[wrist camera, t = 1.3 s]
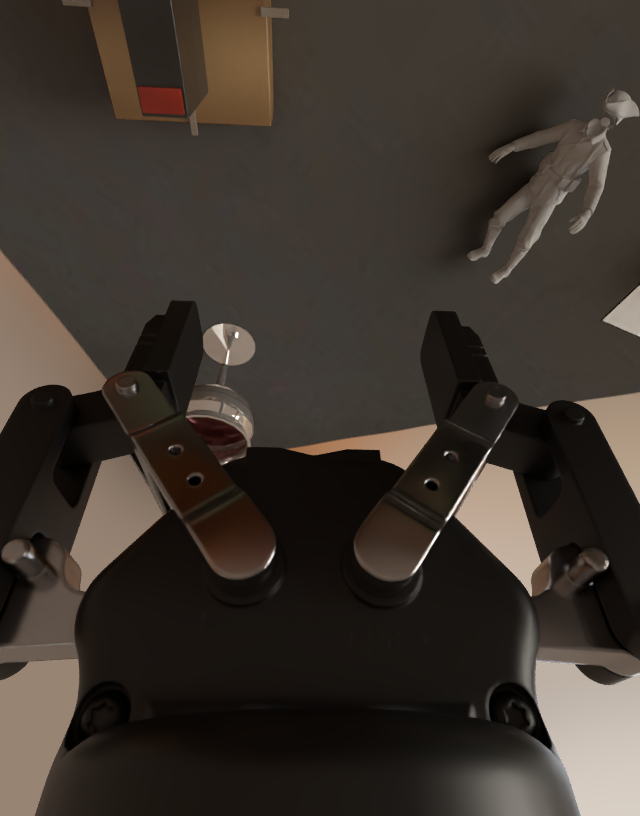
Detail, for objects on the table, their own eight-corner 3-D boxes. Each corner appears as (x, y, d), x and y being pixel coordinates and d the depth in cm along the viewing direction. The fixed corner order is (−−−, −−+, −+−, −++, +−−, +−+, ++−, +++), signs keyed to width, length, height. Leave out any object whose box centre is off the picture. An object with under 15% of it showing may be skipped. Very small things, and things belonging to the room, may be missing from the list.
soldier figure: (438, 232, 34) (540, 62, 24) (475, 212, 36) (583, 48, 26) (508, 301, 33) (650, 154, 22) (542, 277, 35) (687, 131, 24)
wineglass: (268, 321, 39) (256, 420, 31) (261, 376, 44) (248, 474, 36) (191, 309, 38) (157, 408, 30) (192, 366, 43) (163, 465, 35)
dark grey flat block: (136, -103, 19) (89, -117, 15) (186, -99, 19) (152, -113, 15) (169, 91, 24) (140, 118, 20) (209, 92, 24) (188, 120, 20)
